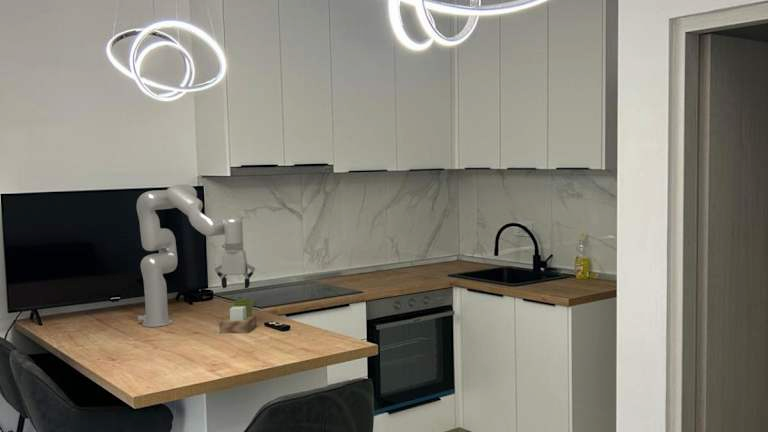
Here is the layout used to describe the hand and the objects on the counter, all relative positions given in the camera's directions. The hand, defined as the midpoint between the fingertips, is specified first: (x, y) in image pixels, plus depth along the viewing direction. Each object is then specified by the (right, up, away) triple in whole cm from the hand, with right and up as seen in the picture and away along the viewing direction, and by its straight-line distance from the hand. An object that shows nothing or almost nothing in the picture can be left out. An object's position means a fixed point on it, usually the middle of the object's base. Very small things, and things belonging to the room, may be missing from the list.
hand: (235, 287), depth 309 cm
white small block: (+1, -13, +1) cm, 13 cm away
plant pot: (0, -17, +21) cm, 27 cm away
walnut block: (+1, -18, +1) cm, 19 cm away
